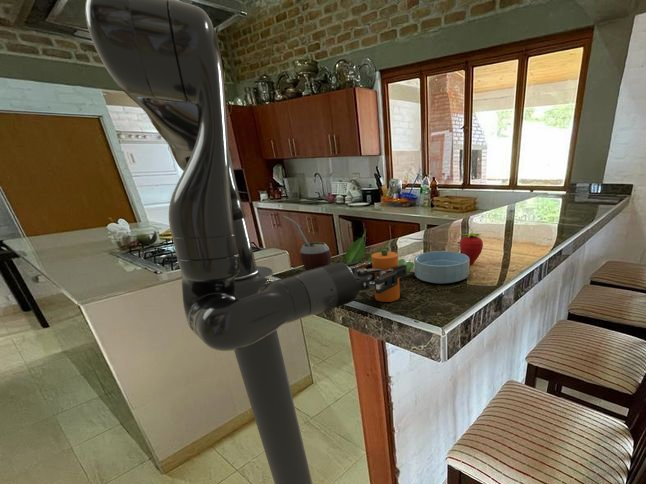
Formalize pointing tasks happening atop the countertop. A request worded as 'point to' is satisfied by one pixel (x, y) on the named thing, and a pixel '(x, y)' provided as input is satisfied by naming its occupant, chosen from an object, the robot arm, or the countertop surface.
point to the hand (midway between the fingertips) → (394, 266)
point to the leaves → (358, 251)
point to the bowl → (441, 266)
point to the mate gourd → (313, 252)
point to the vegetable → (385, 262)
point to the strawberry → (471, 246)
